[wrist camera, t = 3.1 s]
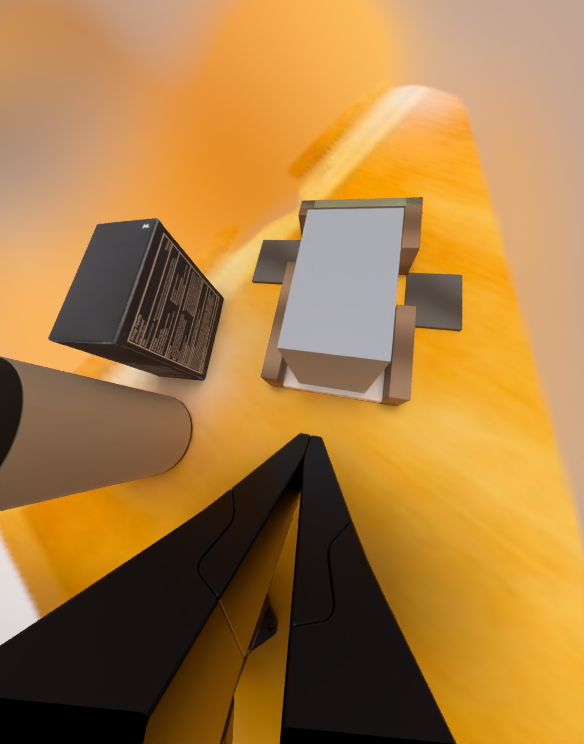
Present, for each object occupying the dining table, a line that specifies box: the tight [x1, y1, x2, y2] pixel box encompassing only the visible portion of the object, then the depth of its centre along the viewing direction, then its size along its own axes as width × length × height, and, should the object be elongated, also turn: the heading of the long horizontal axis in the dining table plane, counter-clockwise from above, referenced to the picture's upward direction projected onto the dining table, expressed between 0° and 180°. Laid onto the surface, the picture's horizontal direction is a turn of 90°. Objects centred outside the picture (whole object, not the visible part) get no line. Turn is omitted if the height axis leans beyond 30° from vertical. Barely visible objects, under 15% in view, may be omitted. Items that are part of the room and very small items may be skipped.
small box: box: [48, 218, 223, 380], centre depth 21 cm, size 11×6×10 cm, turn 173°
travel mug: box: [0, 357, 191, 511], centre depth 14 cm, size 8×8×18 cm
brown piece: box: [252, 197, 462, 406], centre depth 22 cm, size 20×22×4 cm
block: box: [277, 208, 404, 393], centre depth 17 cm, size 10×6×9 cm, turn 169°
